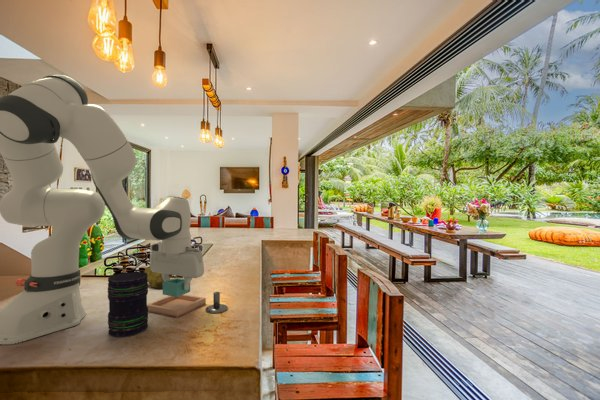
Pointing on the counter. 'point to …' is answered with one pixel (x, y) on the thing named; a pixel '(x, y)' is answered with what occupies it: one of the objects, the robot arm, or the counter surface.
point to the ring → (174, 287)
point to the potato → (154, 278)
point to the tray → (176, 305)
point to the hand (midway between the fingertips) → (176, 288)
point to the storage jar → (127, 304)
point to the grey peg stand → (216, 305)
